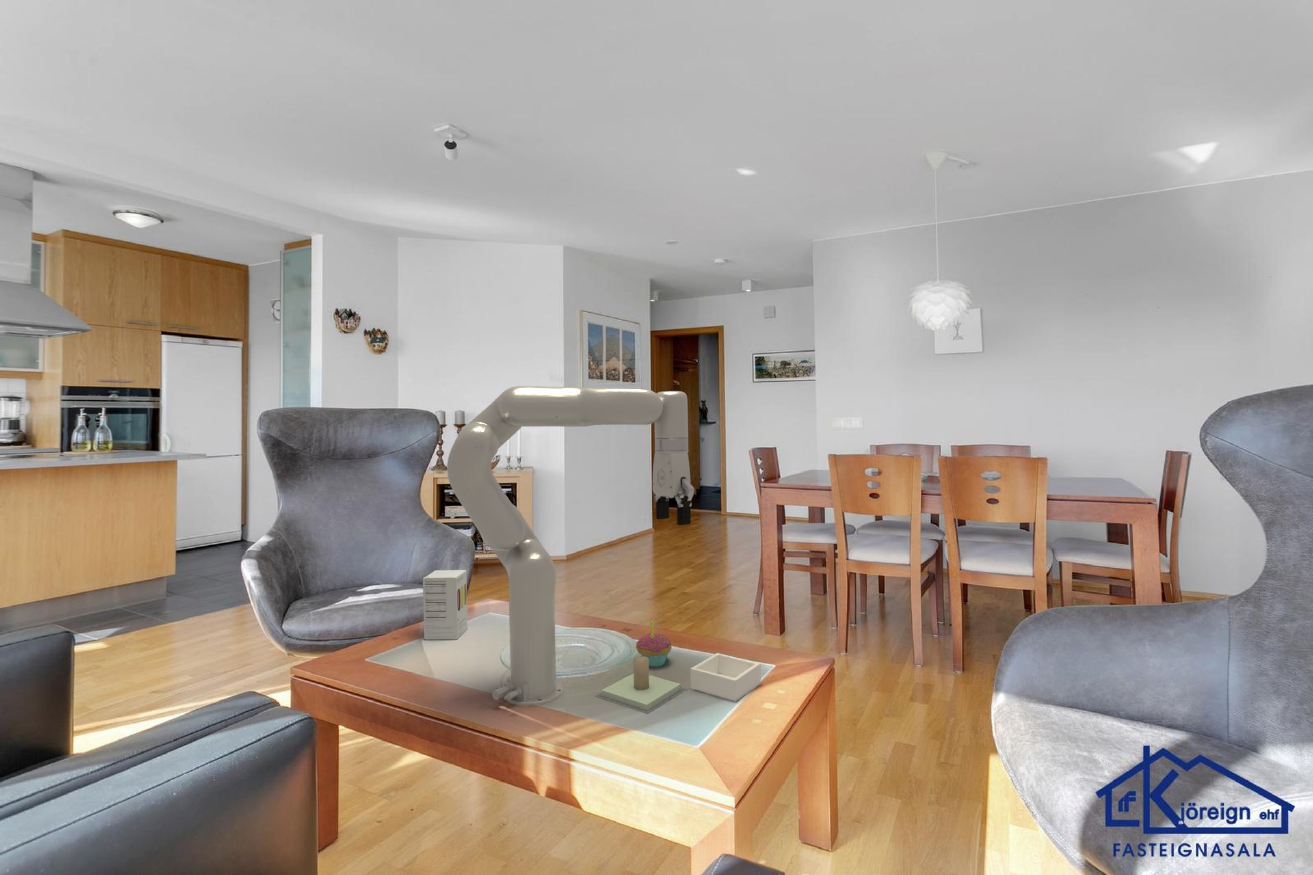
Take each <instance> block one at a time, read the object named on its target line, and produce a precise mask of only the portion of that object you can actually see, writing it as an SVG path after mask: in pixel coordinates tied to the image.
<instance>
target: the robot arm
mask: <svg viewBox="0 0 1313 875" xmlns="http://www.w3.org/2000/svg"><path fill="white" fill-rule="evenodd" d="M688 412H689V411H688V395H687V394H686V393H685V392H683V391H680V390H679V391H678V390H672V391H671V390H670V391H669V390H668V391H659V392H654V391H653V390H650V389H645V388H644V389H643V388H642V389H641V388H640V389H639V388H634V389H633V388H594V387H584V386H583V387H582V386H537V385H536V386H535V385H534V386H533V385H532V386H530V385H529V386H528V385H522V386H521V385H519V386H518V385H516V386H512V387H509V388H507V389H505V390H504V391H502V393H500V394H499V396H497V398H495V399H494V400H493V401H492V402H491V403H490V404H489V405H488V406H487V407H486V408H484V410H482V411H481V412H480V413H479V414H477V416H475V417H474V418H473V419H472V420H471V421H470V422H468V423H466V425H464V427H463V428H461V430H460V431H459V432H458V434H457V436H456V439H455V440H454V442H453V445H452V446H451V449H450V452H449V453H448V458H447V467H446V468H447V471H446V472H447V478H448V481H449V485H450V487H451V489H452V491H453V493H454V495H455V497H456V498H457V500H458V501H459V503H460V504H461V506H462V507H463V509H464V511H465V512H466V514H467V516H469V518H470V520H471V521H472V523H473V525H474V526H475V527H476V529H477V531H478V533H479V534H480V536H481V538H482V541H483V542H484V543H485V544H486V545H487V546H489V547H490V549H491V550H492V551H493V553H494V554H495V556H496V557H497V559H498V560H499V561H500V563H501V565H502V566H503V567H504V569H505V571H506V572H507V575H508V576H507V577H508V598H509V599H508V618H509V619H508V622H509V624H508V625H509V657H510V658H509V661H510V663H509V664H510V676H509V677H506V683H505V684H504V685H503V687H500V688H497V689H495V690H493V691H492V694H491V695H492V698H493V699H494V701H498V700H500V699H502V698H503V700H504V701H506V702H507V703H508V704H509V703H510V704H512V705H516V706H523V707H524V706H525V707H531V706H532V707H533V706H539V705H544V704H548V703H550V702H551V703H552V702H554V701H556V700H557V699H559V698H560V697H561V696H562V695H563V694H564V690H565V689H564V685H563V683H562V682H560V681H558V680H557V664H556V663H557V661H556V659H557V657H556V656H557V655H556V654H557V653H556V616H555V615H556V612H555V611H556V609H555V608H556V604H555V603H556V602H555V600H556V584H557V583H556V582H557V572H556V567H555V563H554V561H553V558H552V557H551V555H550V554H549V552H548V551H547V550H546V549H545V547H544V546H543V544H542V542H540V540H539V538H538V537H537V535H536V534H535V532H534V531H533V530H532V528H531V527H530V524H528V522H527V521H526V519H525V517H524V516H523V514H522V513H521V511H520V510H519V509H518V507H517V506H516V505H514V504H513V503H512V502H511V501H510V499H509V497H508V496H507V494H506V492H504V490H503V489H502V486H501V485H500V483H499V482H498V481H497V479H496V477H495V476H494V474H493V471H492V461H493V459H494V458H495V456H496V455H497V453H498V450H499V449H500V448H501V447H502V446H503V445H504V444H505V443H507V442H508V440H510V439H511V438H512V437H513V436H514V435H515V434H516V433H517V432H518V431H520V429H521V428H523V427H528V428H529V427H532V428H533V427H539V428H540V427H565V428H566V427H570V428H571V427H576V428H577V427H583V428H584V427H591V426H602V425H606V426H607V425H614V426H616V425H617V426H618V425H622V426H623V425H624V426H625V425H627V426H629V425H632V426H633V425H641V426H643V425H645V426H647V425H652V424H654V457H653V466H652V483H651V484H652V492H653V494H654V501H655V518H656V520H665V519H669V518H670V502H669V500H668V499H673V498H675V501H676V502H677V506H676V525H677V526H686V525H691V521H692V519H691V518H692V516H691V512H692V511H691V507H692V502H693V500H694V493H695V487H694V486H693V485H692V484H691V472H690V471H691V470H690V461H689V454H688V453H689V418H688V417H689V413H688Z"/></svg>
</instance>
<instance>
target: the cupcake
mask: <svg viewBox="0 0 1313 875" xmlns="http://www.w3.org/2000/svg"><path fill="white" fill-rule="evenodd" d="M649 626H650V634H649V633H648V634H646V635H644V636H643V635H642V637H639V639H638V640H637V641H636V644H635V649H636V651H637V653H638V654H640V656H644V657H648V658H649V667H661V666H663V665H665V663H666V659H667V656H668V655H669V653H670V652H671V650H672V648H673V647H672V642H671V640H670V639H668V638H669V637H668V638H667V636H664V635H662V634H660V633H654V621H653V620H652V617H650V621H649Z"/></svg>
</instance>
